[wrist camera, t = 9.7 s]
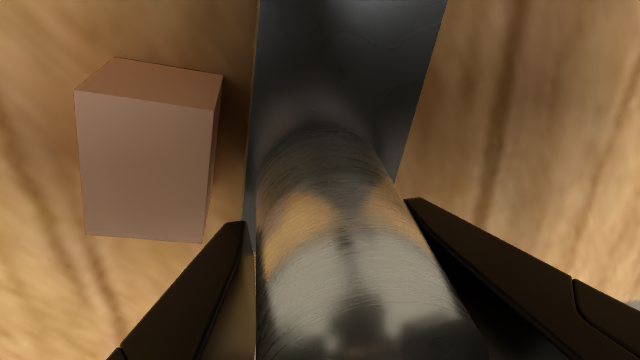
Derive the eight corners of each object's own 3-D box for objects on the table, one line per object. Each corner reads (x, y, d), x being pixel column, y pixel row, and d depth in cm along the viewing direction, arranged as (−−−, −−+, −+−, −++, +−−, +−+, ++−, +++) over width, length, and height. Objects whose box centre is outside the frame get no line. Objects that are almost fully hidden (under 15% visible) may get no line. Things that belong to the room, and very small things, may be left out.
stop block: (114, 56, 11) (73, 90, 9) (222, 75, 12) (213, 110, 9) (118, 178, 13) (85, 234, 11) (211, 188, 14) (201, 243, 11)
